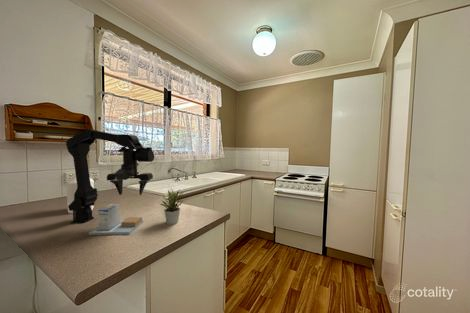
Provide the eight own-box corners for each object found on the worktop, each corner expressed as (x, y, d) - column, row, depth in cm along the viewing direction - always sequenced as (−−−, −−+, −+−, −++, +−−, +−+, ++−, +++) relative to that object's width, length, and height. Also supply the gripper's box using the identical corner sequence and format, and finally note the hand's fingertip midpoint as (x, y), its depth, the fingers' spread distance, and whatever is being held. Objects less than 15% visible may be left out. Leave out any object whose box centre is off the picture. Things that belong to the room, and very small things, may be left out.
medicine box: (110, 222, 84) (110, 204, 84) (120, 222, 84) (120, 204, 84) (98, 230, 76) (97, 209, 76) (109, 230, 77) (108, 209, 76)
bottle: (63, 210, 103) (62, 165, 102) (89, 205, 113) (88, 164, 112) (71, 215, 97) (70, 167, 96) (98, 208, 107) (97, 165, 106)
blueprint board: (88, 235, 74) (87, 227, 74) (108, 222, 87) (108, 216, 87) (128, 234, 75) (128, 227, 75) (143, 222, 87) (142, 216, 87)
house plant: (196, 220, 91) (196, 187, 90) (175, 231, 78) (175, 193, 78) (175, 215, 97) (175, 184, 97) (152, 224, 85) (152, 189, 84)
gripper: (97, 162, 79) (98, 199, 79) (142, 163, 79) (142, 199, 80) (113, 161, 90) (114, 193, 90) (153, 161, 90) (153, 193, 91)
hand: (130, 194), depth 88 cm, fingers open, 9 cm apart
